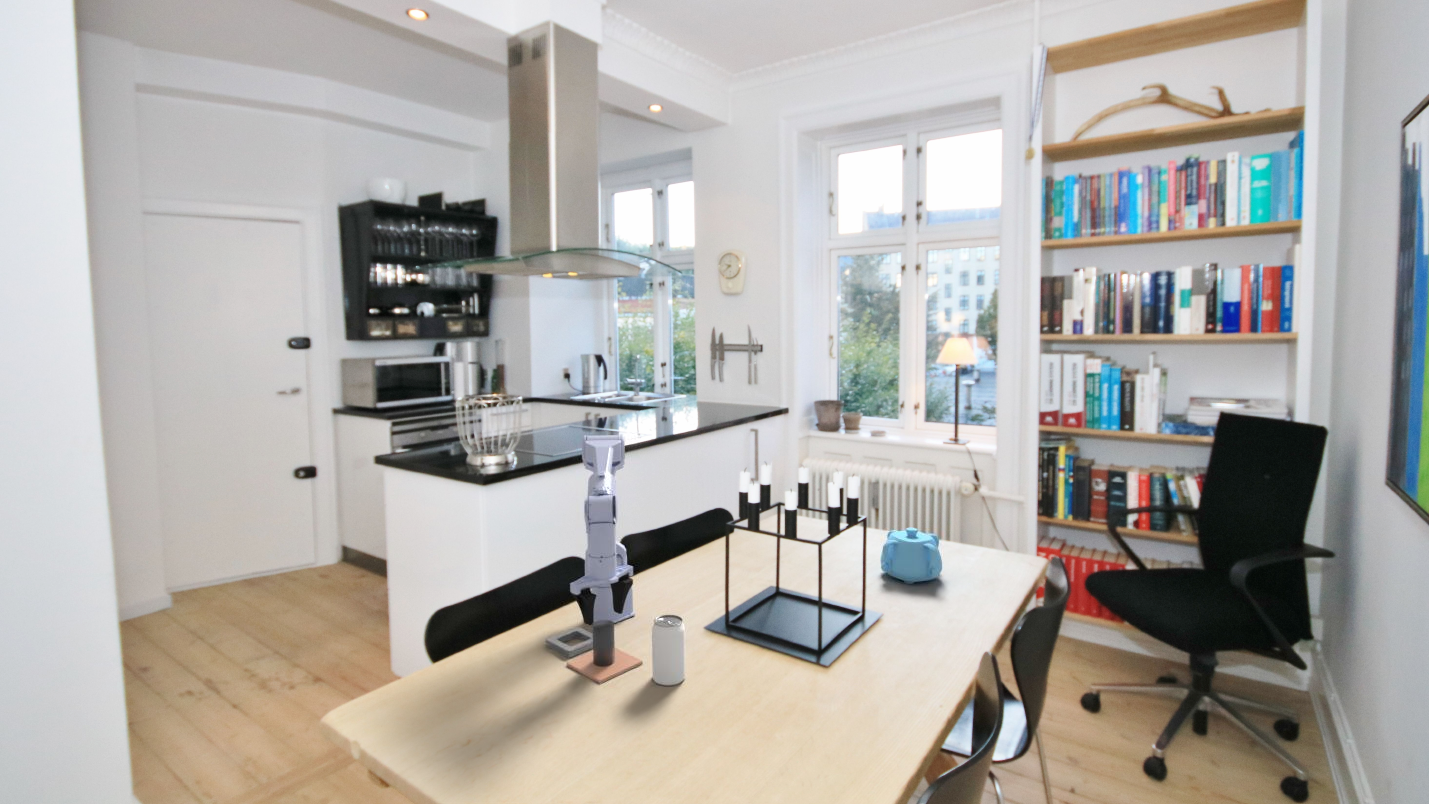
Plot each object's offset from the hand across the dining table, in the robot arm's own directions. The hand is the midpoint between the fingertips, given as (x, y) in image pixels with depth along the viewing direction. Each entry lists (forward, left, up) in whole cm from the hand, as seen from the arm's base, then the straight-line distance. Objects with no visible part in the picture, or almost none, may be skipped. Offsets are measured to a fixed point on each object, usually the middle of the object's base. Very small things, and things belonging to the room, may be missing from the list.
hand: (603, 617), depth 145 cm
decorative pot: (-89, +22, -10) cm, 92 cm away
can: (-5, +14, -10) cm, 18 cm away
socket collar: (-1, -12, -10) cm, 16 cm away
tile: (0, 0, -10) cm, 10 cm away
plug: (0, 0, -9) cm, 9 cm away
